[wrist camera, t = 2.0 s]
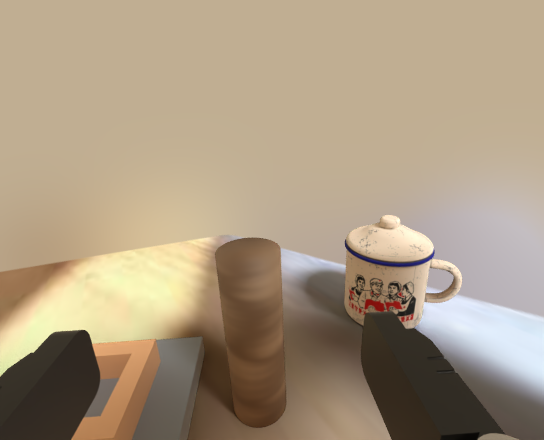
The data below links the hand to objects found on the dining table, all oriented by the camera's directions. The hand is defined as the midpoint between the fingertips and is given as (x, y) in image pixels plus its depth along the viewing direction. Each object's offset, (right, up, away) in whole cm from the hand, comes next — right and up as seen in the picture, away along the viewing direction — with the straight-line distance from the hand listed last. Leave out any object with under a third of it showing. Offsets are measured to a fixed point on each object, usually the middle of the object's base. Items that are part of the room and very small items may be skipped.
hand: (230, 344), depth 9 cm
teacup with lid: (+16, -7, +26) cm, 31 cm away
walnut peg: (0, -12, +16) cm, 20 cm away
